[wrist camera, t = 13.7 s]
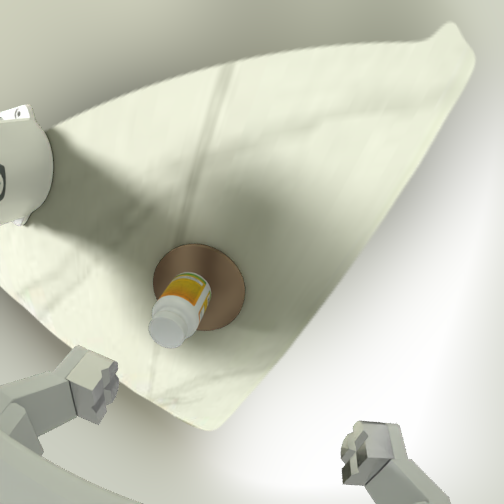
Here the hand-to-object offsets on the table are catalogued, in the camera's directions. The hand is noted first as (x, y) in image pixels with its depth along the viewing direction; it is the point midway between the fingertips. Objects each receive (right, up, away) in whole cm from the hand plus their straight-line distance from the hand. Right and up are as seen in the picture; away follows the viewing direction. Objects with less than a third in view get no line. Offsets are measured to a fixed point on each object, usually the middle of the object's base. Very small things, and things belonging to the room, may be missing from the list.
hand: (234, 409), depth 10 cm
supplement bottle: (-7, 0, +31) cm, 32 cm away
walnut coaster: (-6, 0, +32) cm, 33 cm away
